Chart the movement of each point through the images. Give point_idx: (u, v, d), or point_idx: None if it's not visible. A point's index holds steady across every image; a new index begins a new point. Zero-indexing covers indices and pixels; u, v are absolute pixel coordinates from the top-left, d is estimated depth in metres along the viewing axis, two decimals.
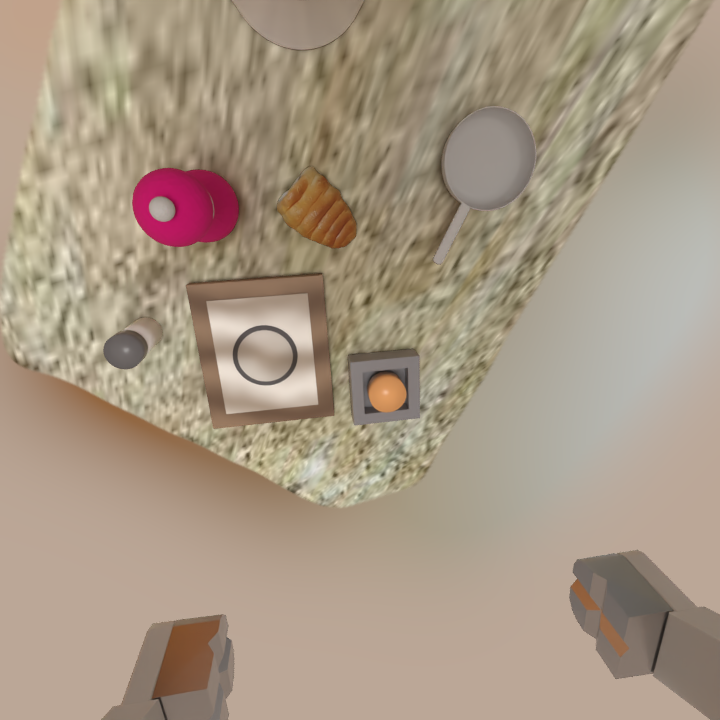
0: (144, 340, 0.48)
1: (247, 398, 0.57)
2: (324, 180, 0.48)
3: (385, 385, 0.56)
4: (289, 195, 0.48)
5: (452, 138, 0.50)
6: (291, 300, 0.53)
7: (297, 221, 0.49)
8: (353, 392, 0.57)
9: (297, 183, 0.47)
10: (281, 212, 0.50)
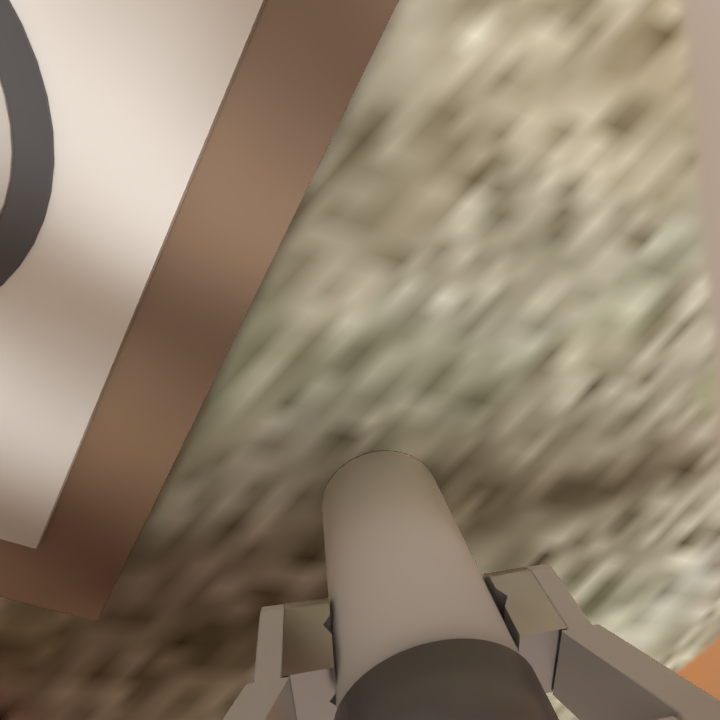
0: None
1: None
2: None
3: None
4: None
5: None
6: None
7: None
8: None
9: None
10: None
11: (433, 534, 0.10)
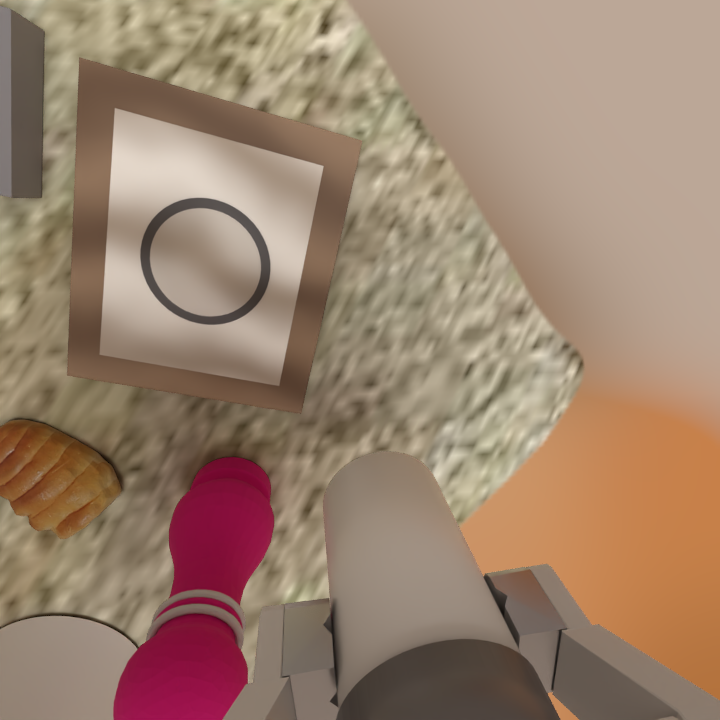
0: None
1: (269, 186, 0.27)
2: (32, 526, 0.32)
3: None
4: (85, 521, 0.32)
5: None
6: (132, 350, 0.29)
7: (79, 484, 0.31)
8: (7, 114, 0.23)
9: (70, 535, 0.32)
10: (111, 488, 0.33)
11: (435, 534, 0.10)
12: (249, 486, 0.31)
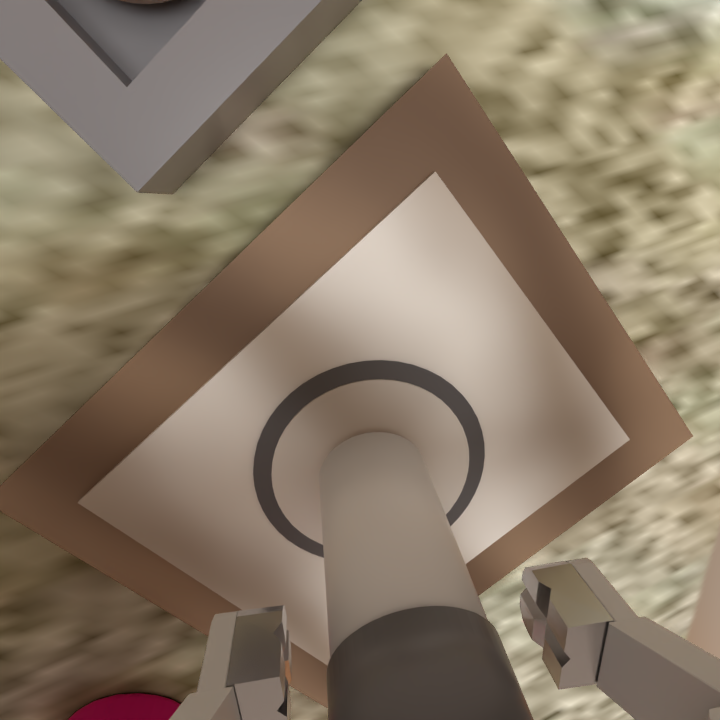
0: None
1: (545, 423, 0.15)
2: None
3: None
4: None
5: None
6: (144, 523, 0.15)
7: None
8: (260, 49, 0.10)
9: None
10: None
11: (417, 512, 0.11)
12: None
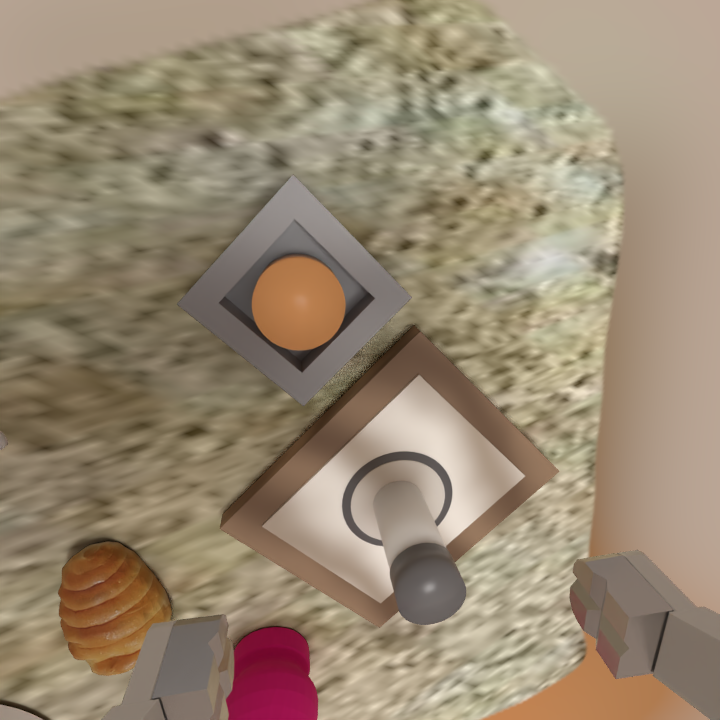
0: (391, 572, 0.25)
1: (481, 472, 0.31)
2: None
3: (284, 330, 0.23)
4: (131, 666, 0.30)
5: None
6: (291, 534, 0.31)
7: (145, 630, 0.30)
8: (350, 354, 0.25)
9: (108, 675, 0.30)
10: None
11: (418, 513, 0.27)
12: (312, 684, 0.33)
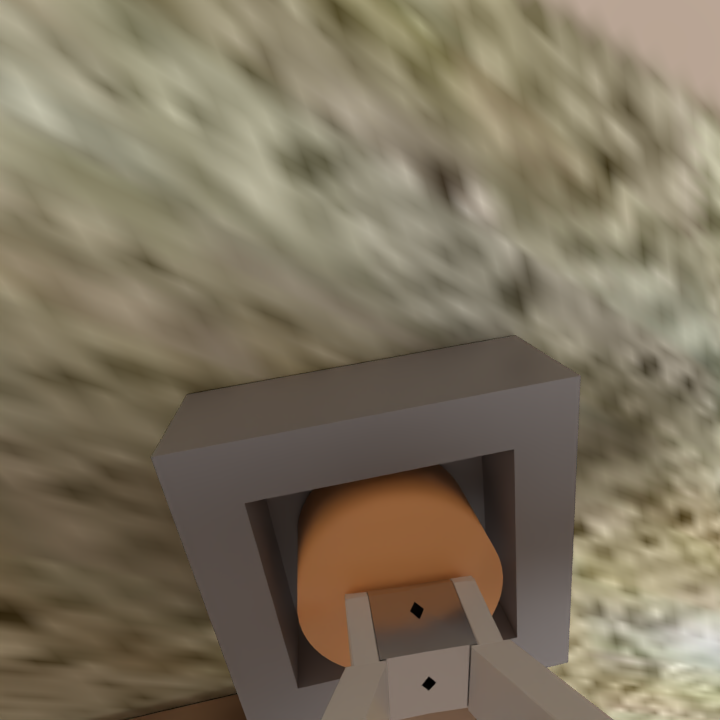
0: None
1: None
2: None
3: (341, 622, 0.10)
4: None
5: None
6: None
7: None
8: None
9: None
10: None
11: None
12: None
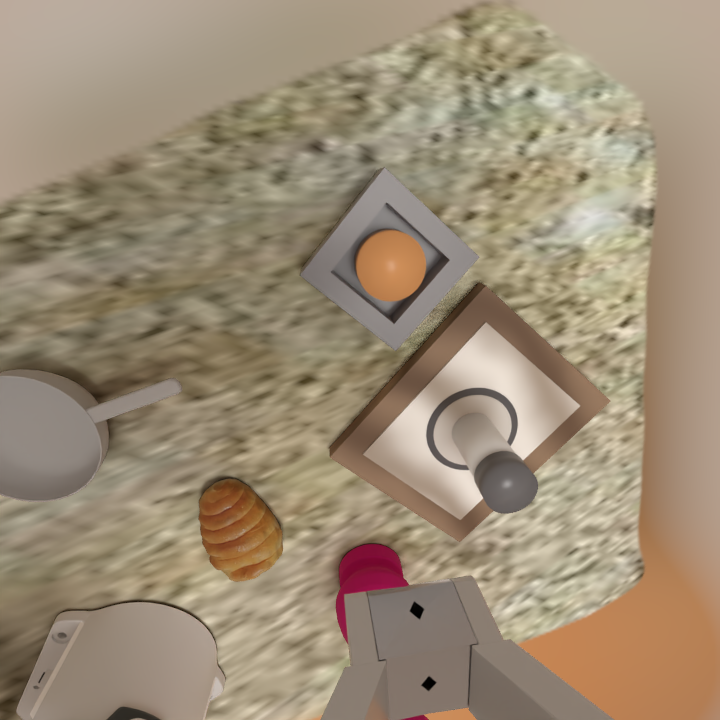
0: (475, 475, 0.31)
1: (541, 403, 0.37)
2: (211, 563, 0.39)
3: (381, 286, 0.31)
4: (258, 573, 0.39)
5: (71, 469, 0.37)
6: (386, 460, 0.38)
7: (265, 544, 0.39)
8: (431, 307, 0.32)
9: (242, 580, 0.39)
10: (279, 550, 0.40)
11: (492, 433, 0.34)
12: (408, 584, 0.40)
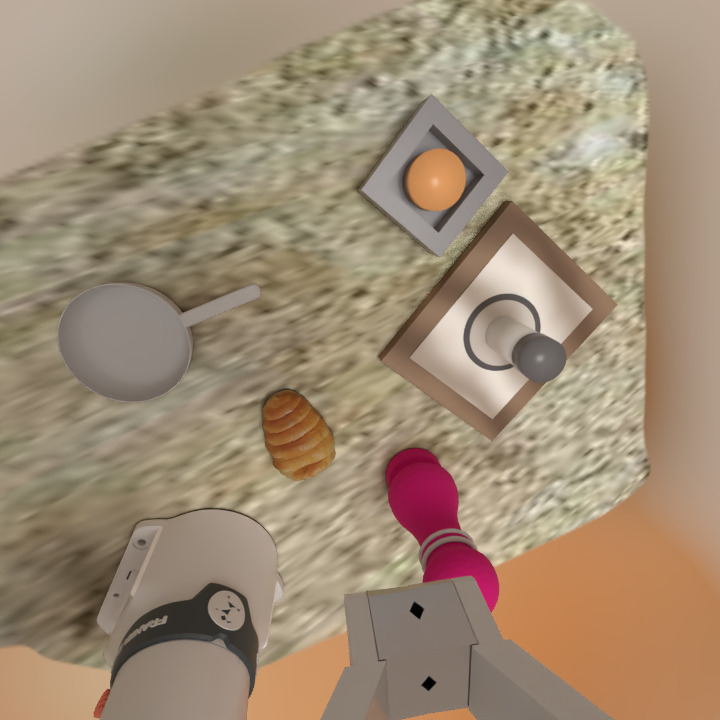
0: (513, 355, 0.38)
1: (560, 307, 0.44)
2: (275, 466, 0.45)
3: (429, 197, 0.37)
4: (317, 472, 0.45)
5: (156, 379, 0.42)
6: (429, 363, 0.44)
7: (322, 445, 0.44)
8: (469, 217, 0.38)
9: (303, 479, 0.44)
10: (333, 453, 0.46)
11: (523, 325, 0.40)
12: (451, 476, 0.46)
